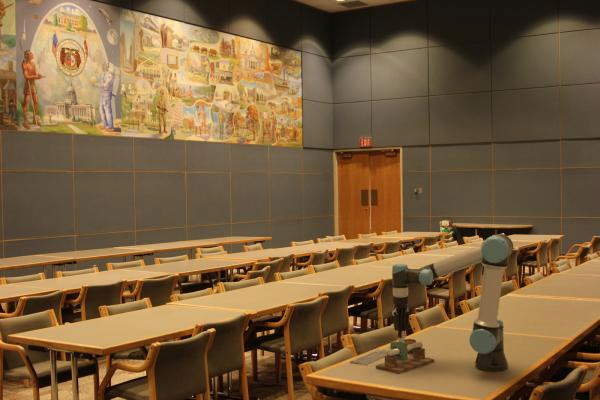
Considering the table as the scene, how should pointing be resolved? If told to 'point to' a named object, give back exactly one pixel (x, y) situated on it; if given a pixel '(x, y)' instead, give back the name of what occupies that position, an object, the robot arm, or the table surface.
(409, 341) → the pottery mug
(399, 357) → the collar
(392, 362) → the pipe stand
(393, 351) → the steel pipe
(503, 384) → the table surface
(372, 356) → the keyboard
